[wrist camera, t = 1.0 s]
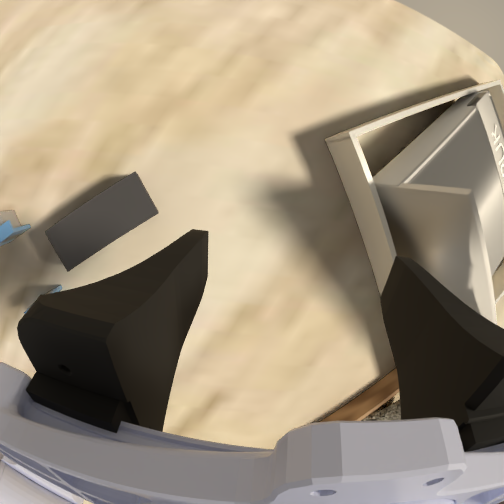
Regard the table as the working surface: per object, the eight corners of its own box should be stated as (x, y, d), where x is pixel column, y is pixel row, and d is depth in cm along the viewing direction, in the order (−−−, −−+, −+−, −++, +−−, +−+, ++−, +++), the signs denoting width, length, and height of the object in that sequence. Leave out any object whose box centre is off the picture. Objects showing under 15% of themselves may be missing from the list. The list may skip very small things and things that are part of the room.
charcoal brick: (77, 263, 23) (67, 271, 20) (57, 227, 22) (44, 231, 19) (158, 211, 25) (158, 213, 22) (137, 174, 24) (135, 171, 21)
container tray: (398, 367, 35) (418, 381, 31) (324, 139, 27) (348, 132, 24) (516, 250, 41) (533, 254, 37) (480, 83, 33) (500, 79, 29)
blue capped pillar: (80, 362, 24) (73, 383, 21) (-29, 140, 18) (-49, 134, 15) (102, 351, 25) (97, 371, 21) (-8, 123, 19) (-28, 115, 15)
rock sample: (359, 426, 30) (425, 447, 27) (377, 376, 36) (436, 396, 33) (335, 455, 36) (390, 473, 33) (353, 412, 42) (403, 430, 39)
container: (459, 92, 31) (535, 85, 20) (502, 240, 40) (560, 256, 29) (359, 182, 28) (466, 191, 17) (429, 343, 37) (494, 381, 26)
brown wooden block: (342, 481, 37) (351, 494, 34) (311, 426, 33) (322, 442, 30) (429, 416, 40) (441, 425, 37) (421, 346, 36) (436, 355, 33)
